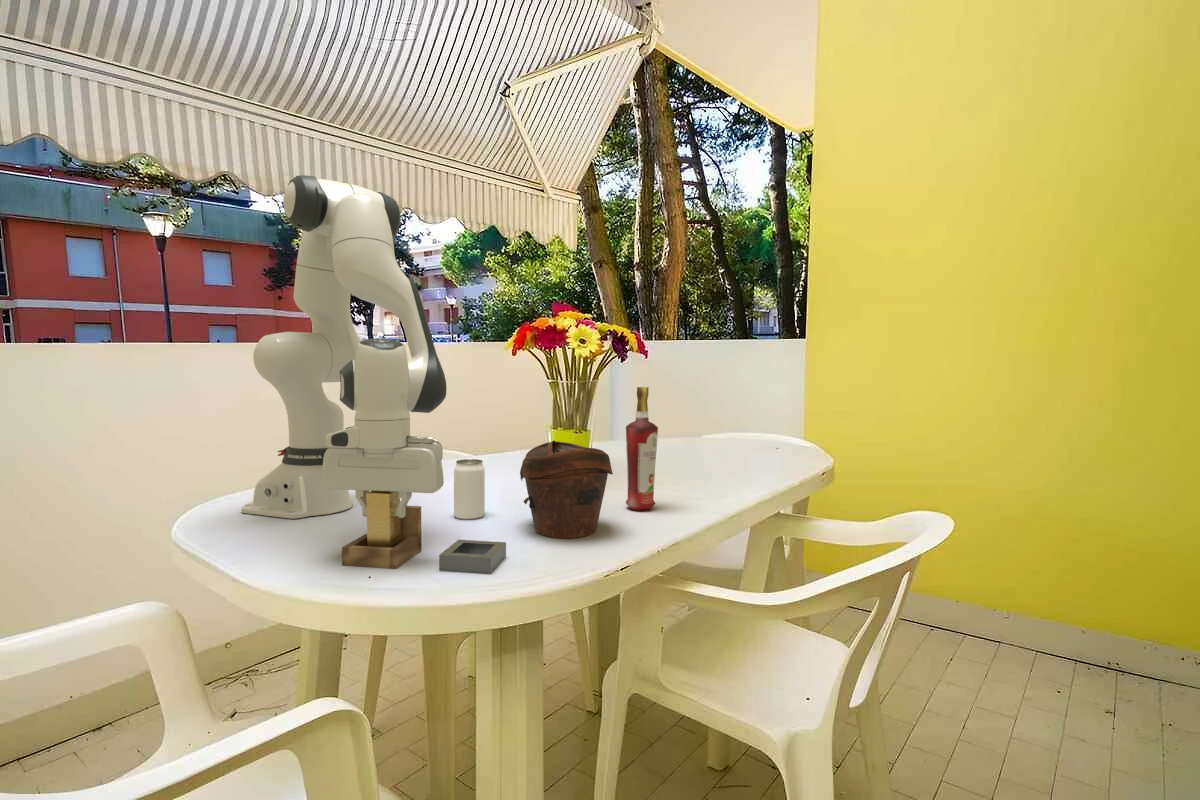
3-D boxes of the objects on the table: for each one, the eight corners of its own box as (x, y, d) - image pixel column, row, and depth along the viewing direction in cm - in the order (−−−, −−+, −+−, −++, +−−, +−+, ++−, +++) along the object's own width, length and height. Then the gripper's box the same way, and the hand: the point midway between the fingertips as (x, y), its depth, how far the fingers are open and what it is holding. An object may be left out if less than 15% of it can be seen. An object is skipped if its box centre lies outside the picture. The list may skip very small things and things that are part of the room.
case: (549, 512, 138) (549, 432, 136) (629, 526, 128) (630, 440, 126) (497, 532, 122) (497, 442, 121) (583, 550, 112) (584, 452, 111)
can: (488, 513, 136) (488, 459, 136) (479, 520, 130) (479, 464, 129) (459, 512, 137) (459, 458, 136) (449, 519, 131) (449, 463, 130)
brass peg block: (367, 546, 103) (366, 469, 103) (378, 539, 107) (377, 465, 107) (389, 547, 103) (389, 470, 102) (400, 540, 107) (399, 465, 106)
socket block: (439, 570, 100) (439, 555, 100) (458, 553, 108) (458, 539, 108) (490, 573, 99) (490, 558, 98) (506, 556, 107) (506, 542, 107)
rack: (342, 565, 101) (341, 517, 101) (370, 547, 111) (370, 503, 110) (397, 568, 100) (396, 520, 100) (421, 550, 110) (421, 506, 109)
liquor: (638, 503, 148) (640, 386, 146) (662, 508, 143) (665, 387, 141) (617, 508, 143) (620, 386, 141) (642, 514, 138) (644, 388, 136)
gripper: (449, 434, 106) (449, 514, 107) (337, 431, 108) (338, 509, 109) (434, 439, 100) (435, 524, 101) (316, 436, 102) (317, 518, 103)
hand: (383, 516), depth 105 cm, fingers closed on brass peg block, 4 cm apart
